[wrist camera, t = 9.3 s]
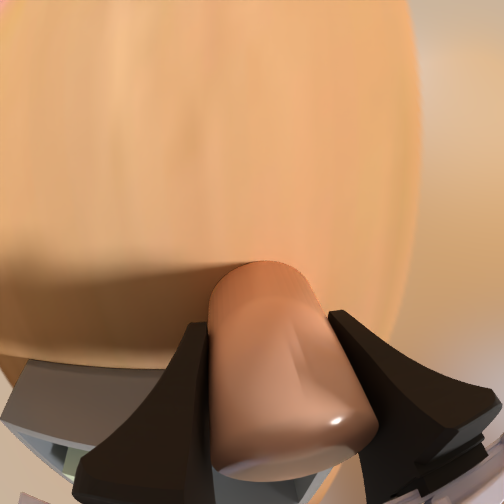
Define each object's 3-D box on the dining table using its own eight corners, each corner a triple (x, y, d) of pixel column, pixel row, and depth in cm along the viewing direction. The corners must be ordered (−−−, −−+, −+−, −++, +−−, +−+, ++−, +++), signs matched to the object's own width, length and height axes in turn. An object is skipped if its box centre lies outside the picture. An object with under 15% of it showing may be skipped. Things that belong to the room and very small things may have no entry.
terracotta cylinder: (253, 359, 14) (276, 488, 7) (186, 305, 12) (173, 458, 6) (330, 308, 13) (395, 433, 7) (272, 238, 11) (337, 385, 5)
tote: (103, 457, 18) (97, 500, 14) (28, 359, 13) (-1, 419, 8) (296, 456, 20) (307, 503, 16) (322, 357, 14) (353, 433, 10)
